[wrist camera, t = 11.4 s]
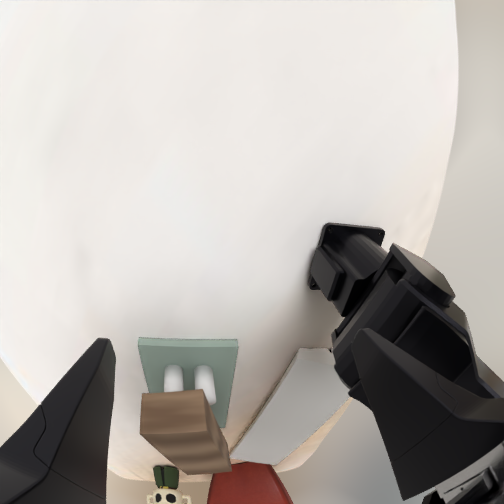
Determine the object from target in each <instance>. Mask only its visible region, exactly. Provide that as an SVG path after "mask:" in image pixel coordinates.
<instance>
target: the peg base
mask: <svg viewBox="0 0 504 504" xmlns="http://www.w3.org/2000/svg"><path fill="white" fill-rule="evenodd" d="M138 349H139V353H140V358H141V362H142V366H143V370H144V374H145V378H146V382H147V386H148V390H149V393H161V392H175V391H186V390H196V389H203V391H204V393H205V395H206V398H207V400H208V403H209V405H210V407H211V410H212V412H213V414H214V416H215V419H216V421H217V423H218V425H219V427H220V428H225V425H226V419H227V413H228V407H229V401H230V395H231V389H232V382H233V376H234V370H235V364H236V358H237V352H238V342H237V339H228V340H193V339H159V338H140V337H139V339H138Z"/></svg>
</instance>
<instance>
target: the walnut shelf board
mask: <svg viewBox="0 0 504 504" xmlns="http://www.w3.org/2000/svg"><path fill="white" fill-rule="evenodd" d="M140 435H141V436H143V437H144V438H145V439H146V440H147V441H148V442H149V443H150V444H151V445H152V446H153V447H154V448H156V449H157V450H158V451H159V452H160V453H161V454H162V455H164V456H165V457H166V458H167V459H168V460H169V461H171V462H172V463H173V464H174V465H176V466H177V467H178V468H179V469H181V470H182V471H183V472H185V473H186V474H187V475H197V474H211V473H222V472H230V471H232V468H231V462H230V457H229V451H228V445H227V442H226V440H225V438H224V436H223V434H222V432H221V429H220V427H219V425H218V423H217V421H216V419H215V416H214V414H213V412H212V410H211V407H210V405H209V403H208V400H207V398H206V395H205V393H204V391H203V389H196V390H186V391H175V392H161V393H142V401H141V418H140Z"/></svg>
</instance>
